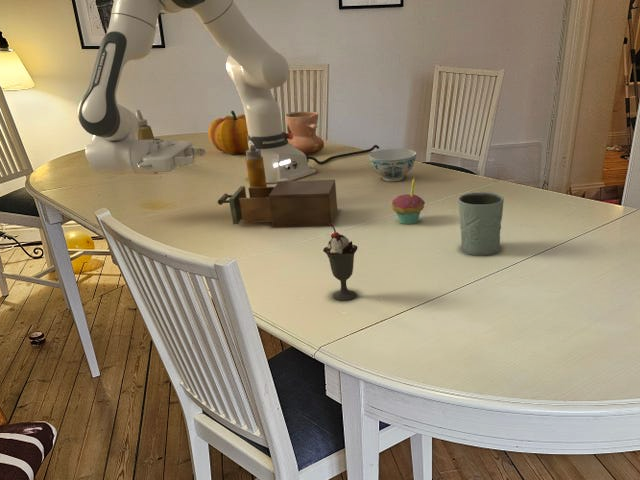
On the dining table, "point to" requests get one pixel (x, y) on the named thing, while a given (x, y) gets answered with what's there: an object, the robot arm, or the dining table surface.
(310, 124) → the ceramic jug
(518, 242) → the dining table surface
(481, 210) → the green embossed cup
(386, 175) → the chinaware
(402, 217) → the cupcake
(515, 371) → the dining table surface
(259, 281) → the dining table surface
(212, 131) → the decorative pumpkin
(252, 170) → the pepper mill
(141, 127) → the squeeze bottle
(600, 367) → the dining table surface
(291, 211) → the cabinet
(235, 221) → the drawer
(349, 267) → the sundae
